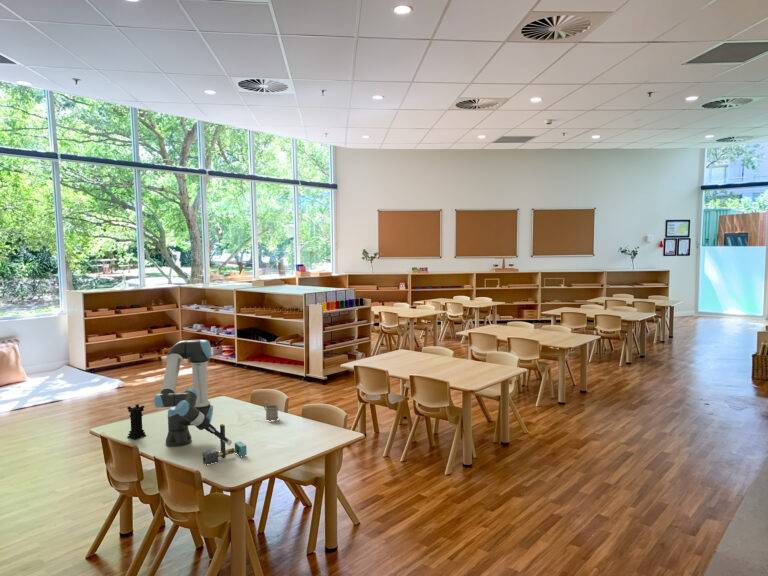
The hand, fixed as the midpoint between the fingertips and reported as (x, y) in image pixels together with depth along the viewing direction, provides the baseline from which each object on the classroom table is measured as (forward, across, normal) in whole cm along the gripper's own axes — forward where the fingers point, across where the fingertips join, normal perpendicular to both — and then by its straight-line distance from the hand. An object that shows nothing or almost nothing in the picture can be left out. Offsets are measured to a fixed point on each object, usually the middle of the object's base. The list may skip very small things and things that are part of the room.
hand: (229, 442), depth 293 cm
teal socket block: (+11, 0, -1) cm, 11 cm away
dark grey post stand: (+1, 0, -10) cm, 10 cm away
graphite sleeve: (-2, 0, -14) cm, 14 cm away
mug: (+41, -49, +28) cm, 70 cm away
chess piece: (-18, -71, -30) cm, 80 cm away
